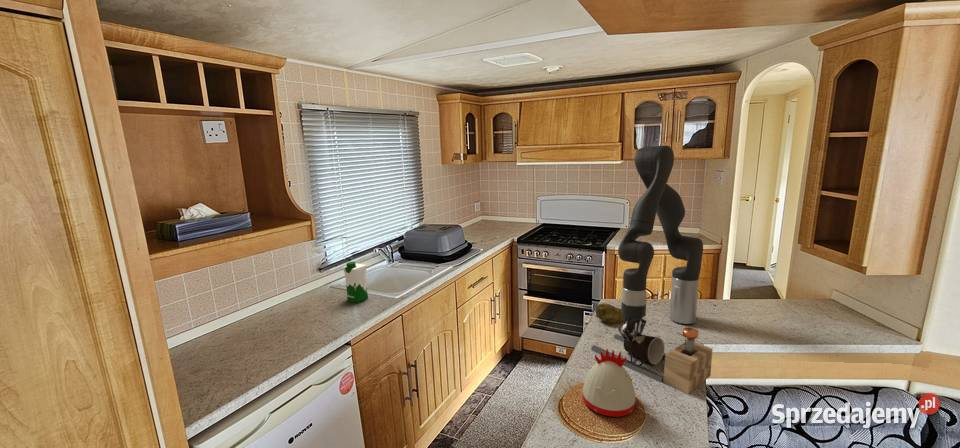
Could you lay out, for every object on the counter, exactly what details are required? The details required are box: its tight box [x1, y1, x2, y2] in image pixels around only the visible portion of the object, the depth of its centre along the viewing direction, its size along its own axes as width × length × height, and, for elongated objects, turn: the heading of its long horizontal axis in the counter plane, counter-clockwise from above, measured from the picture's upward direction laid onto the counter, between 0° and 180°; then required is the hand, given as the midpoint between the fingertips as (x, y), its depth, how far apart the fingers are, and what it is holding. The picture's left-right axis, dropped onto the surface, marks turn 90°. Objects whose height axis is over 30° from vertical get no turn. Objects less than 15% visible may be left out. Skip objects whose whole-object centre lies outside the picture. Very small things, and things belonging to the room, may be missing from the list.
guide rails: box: [590, 333, 667, 383], centre depth 130 cm, size 14×25×2 cm, turn 37°
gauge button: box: [682, 327, 699, 356], centre depth 115 cm, size 4×4×10 cm
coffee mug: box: [623, 334, 665, 366], centre depth 129 cm, size 12×9×10 cm
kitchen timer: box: [582, 348, 636, 417], centre depth 107 cm, size 14×14×15 cm
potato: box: [594, 302, 624, 324], centre depth 156 cm, size 8×13×8 cm, turn 87°
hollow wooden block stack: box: [663, 342, 714, 395], centre depth 116 cm, size 14×7×9 cm, turn 127°
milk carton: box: [342, 261, 369, 304], centre depth 185 cm, size 9×9×20 cm
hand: (631, 350), depth 131 cm, fingers closed
